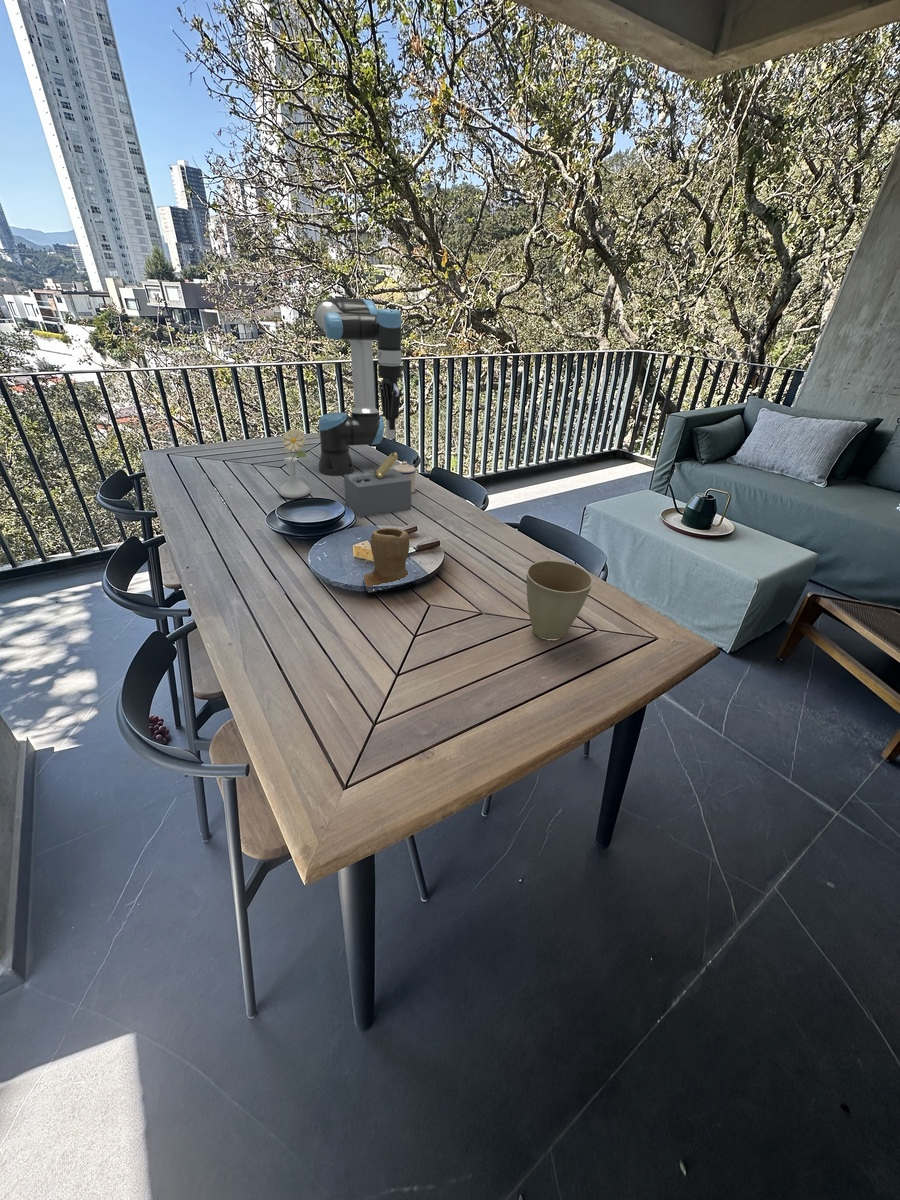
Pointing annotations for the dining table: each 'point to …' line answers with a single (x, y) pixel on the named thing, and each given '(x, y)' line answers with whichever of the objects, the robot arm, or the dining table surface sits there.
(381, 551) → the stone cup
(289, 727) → the dining table surface
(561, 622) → the plant pot
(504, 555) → the dining table surface
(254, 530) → the dining table surface
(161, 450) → the dining table surface
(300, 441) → the flower in vase
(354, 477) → the steel pin
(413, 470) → the teacup with lid
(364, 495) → the post block
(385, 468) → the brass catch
